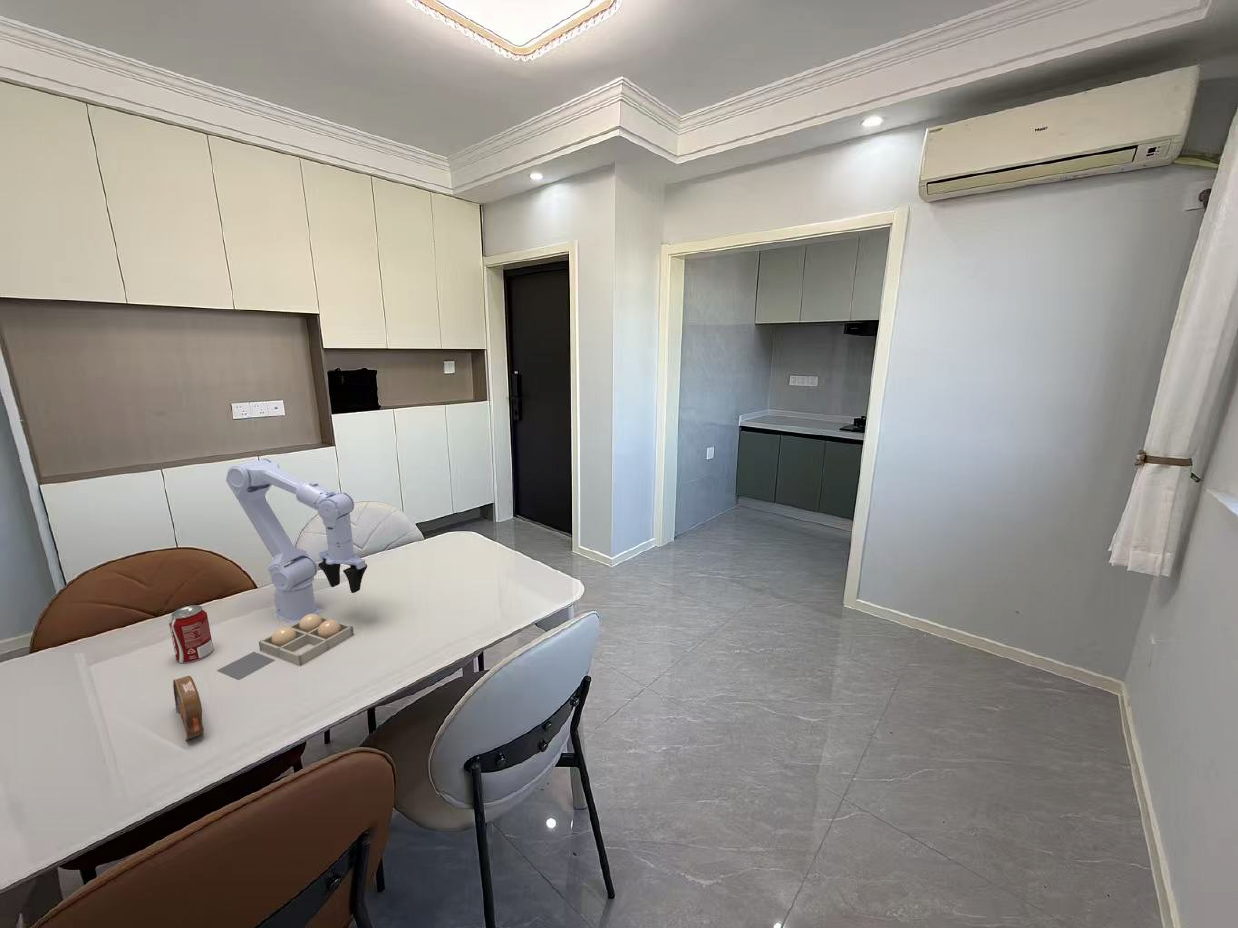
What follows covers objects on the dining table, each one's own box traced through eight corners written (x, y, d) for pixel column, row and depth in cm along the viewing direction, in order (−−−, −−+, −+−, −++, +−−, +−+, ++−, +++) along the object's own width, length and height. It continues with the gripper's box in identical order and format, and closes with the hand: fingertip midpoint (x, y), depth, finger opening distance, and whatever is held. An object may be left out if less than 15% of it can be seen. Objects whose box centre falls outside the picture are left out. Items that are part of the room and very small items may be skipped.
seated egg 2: (314, 641, 124) (311, 623, 123) (332, 631, 129) (330, 614, 128) (328, 646, 122) (325, 628, 121) (346, 636, 127) (344, 618, 126)
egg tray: (260, 652, 120) (258, 641, 120) (315, 624, 133) (314, 613, 132) (300, 668, 115) (298, 656, 114) (353, 636, 128) (352, 626, 127)
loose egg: (268, 649, 121) (265, 631, 120) (288, 639, 125) (285, 621, 124) (282, 654, 119) (278, 635, 118) (302, 643, 123) (299, 625, 122)
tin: (175, 709, 101) (167, 673, 99) (195, 702, 103) (188, 666, 102) (187, 749, 91) (179, 710, 89) (209, 740, 94) (202, 701, 92)
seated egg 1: (295, 635, 127) (293, 617, 126) (314, 625, 131) (312, 608, 130) (309, 639, 125) (306, 621, 124) (327, 630, 130) (325, 612, 128)
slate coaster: (216, 672, 113) (216, 670, 113) (254, 653, 120) (253, 651, 120) (239, 682, 110) (238, 680, 109) (275, 662, 117) (275, 660, 117)
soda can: (220, 652, 120) (212, 606, 118) (189, 668, 114) (180, 621, 111) (201, 646, 122) (193, 601, 120) (169, 662, 116) (160, 615, 113)
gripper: (306, 540, 128) (312, 589, 131) (346, 550, 123) (351, 600, 126) (331, 532, 135) (336, 578, 138) (370, 540, 129) (375, 589, 132)
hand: (345, 588), depth 132 cm, fingers open, 7 cm apart
